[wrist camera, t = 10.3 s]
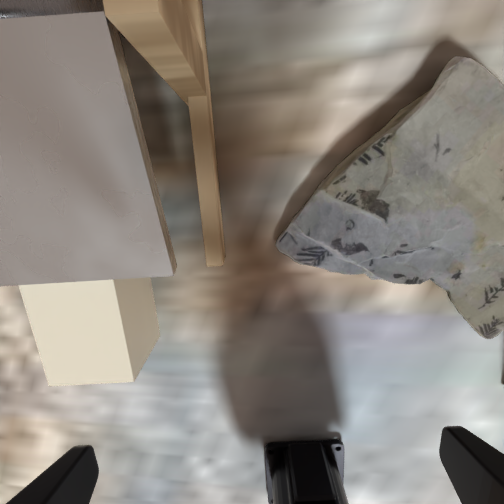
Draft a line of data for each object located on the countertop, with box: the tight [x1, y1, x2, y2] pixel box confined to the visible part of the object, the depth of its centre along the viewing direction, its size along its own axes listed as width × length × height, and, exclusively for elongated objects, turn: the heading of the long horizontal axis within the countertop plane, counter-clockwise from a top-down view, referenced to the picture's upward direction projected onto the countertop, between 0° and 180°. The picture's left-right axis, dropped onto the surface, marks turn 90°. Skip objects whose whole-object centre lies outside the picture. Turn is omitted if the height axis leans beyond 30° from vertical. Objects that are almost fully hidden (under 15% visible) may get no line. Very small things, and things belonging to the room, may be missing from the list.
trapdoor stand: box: [103, 0, 225, 266], centre depth 13 cm, size 16×16×10 cm
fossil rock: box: [276, 56, 504, 339], centre depth 18 cm, size 18×15×2 cm
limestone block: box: [19, 277, 160, 386], centre depth 18 cm, size 5×5×7 cm
